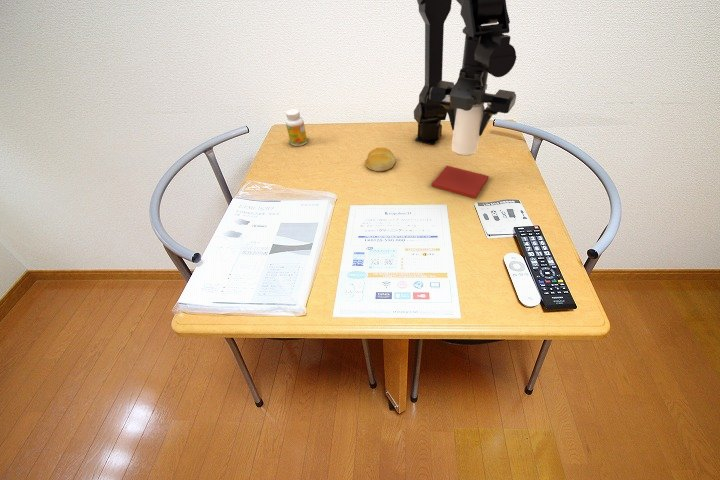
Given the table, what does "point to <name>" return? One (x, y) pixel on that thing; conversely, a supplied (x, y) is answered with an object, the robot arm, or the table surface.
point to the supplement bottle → (295, 128)
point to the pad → (460, 181)
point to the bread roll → (380, 159)
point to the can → (467, 130)
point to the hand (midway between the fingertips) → (466, 132)
